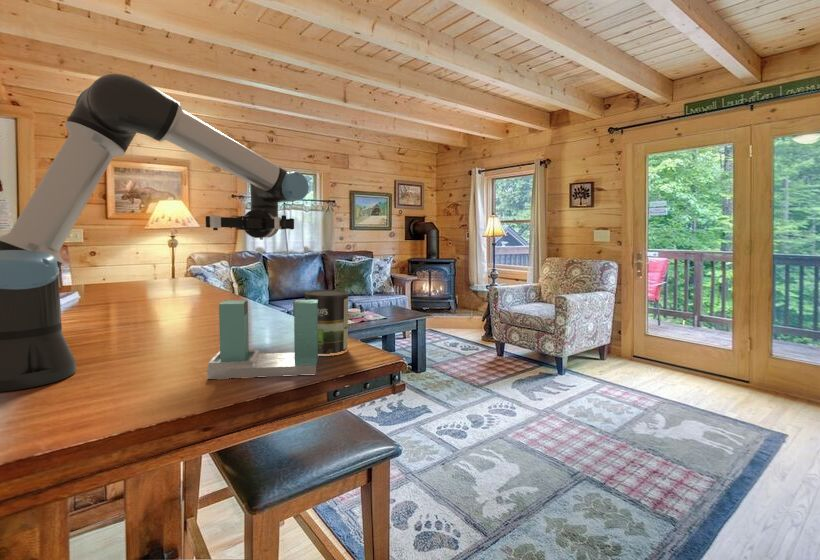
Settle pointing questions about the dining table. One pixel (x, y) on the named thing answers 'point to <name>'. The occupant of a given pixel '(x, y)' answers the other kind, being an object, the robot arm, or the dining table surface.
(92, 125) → the robot arm
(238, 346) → the mint green block
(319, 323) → the coffee can
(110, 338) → the dining table surface
